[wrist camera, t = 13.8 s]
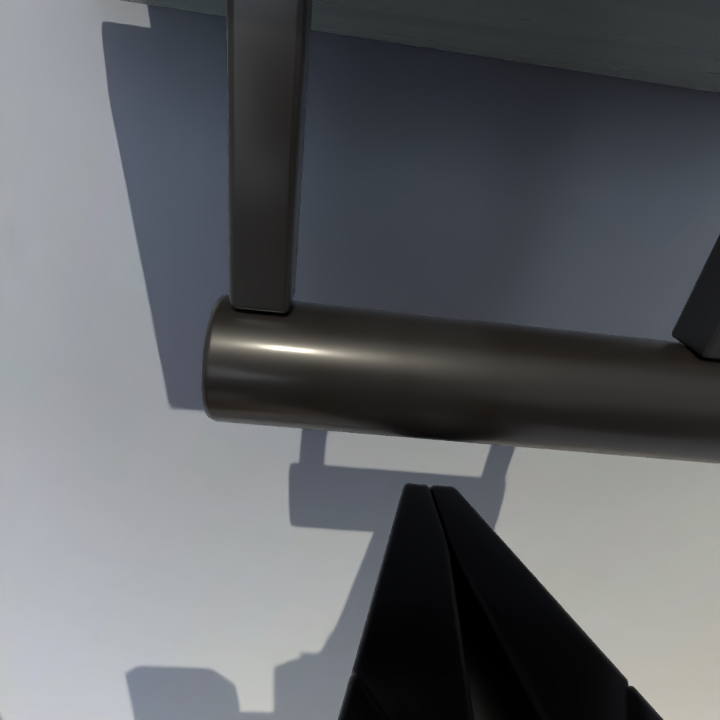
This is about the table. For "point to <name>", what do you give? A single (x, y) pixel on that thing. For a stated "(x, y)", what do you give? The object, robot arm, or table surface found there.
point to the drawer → (432, 333)
